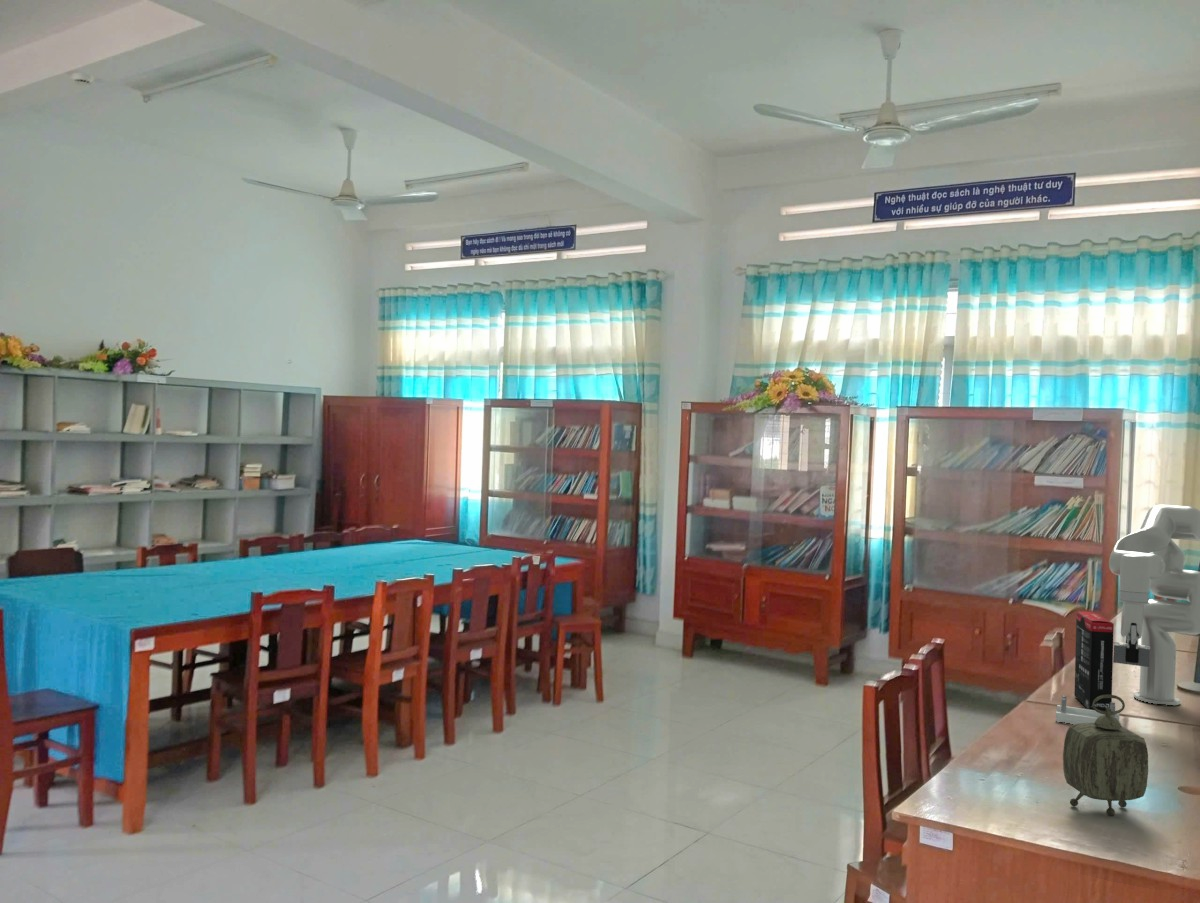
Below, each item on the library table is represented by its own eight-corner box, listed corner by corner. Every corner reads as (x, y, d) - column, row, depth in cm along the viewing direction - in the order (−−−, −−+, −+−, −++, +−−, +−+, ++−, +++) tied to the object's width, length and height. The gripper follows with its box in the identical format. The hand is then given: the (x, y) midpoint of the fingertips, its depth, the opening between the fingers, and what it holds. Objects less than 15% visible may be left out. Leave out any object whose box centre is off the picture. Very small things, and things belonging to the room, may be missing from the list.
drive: (1113, 659, 281) (1114, 641, 281) (1149, 663, 277) (1150, 645, 277) (1113, 662, 277) (1113, 644, 277) (1149, 667, 272) (1150, 648, 272)
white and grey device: (1057, 712, 283) (1057, 692, 283) (1118, 721, 276) (1119, 700, 276) (1055, 721, 273) (1056, 700, 273) (1119, 731, 266) (1120, 709, 266)
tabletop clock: (1126, 804, 210) (1130, 690, 210) (1151, 821, 201) (1156, 701, 201) (1060, 803, 210) (1065, 688, 209) (1083, 819, 201) (1088, 700, 200)
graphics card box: (1113, 713, 285) (1116, 621, 284) (1087, 711, 286) (1091, 620, 286) (1095, 698, 301) (1098, 612, 301) (1071, 696, 303) (1075, 610, 303)
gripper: (1117, 592, 286) (1115, 653, 286) (1120, 599, 271) (1117, 664, 271) (1146, 595, 283) (1144, 656, 283) (1150, 602, 267) (1148, 667, 267)
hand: (1131, 659), depth 277 cm, fingers closed on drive, 5 cm apart
